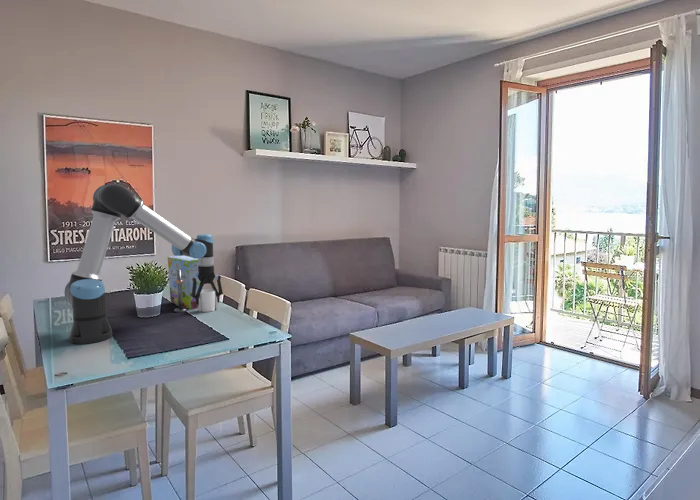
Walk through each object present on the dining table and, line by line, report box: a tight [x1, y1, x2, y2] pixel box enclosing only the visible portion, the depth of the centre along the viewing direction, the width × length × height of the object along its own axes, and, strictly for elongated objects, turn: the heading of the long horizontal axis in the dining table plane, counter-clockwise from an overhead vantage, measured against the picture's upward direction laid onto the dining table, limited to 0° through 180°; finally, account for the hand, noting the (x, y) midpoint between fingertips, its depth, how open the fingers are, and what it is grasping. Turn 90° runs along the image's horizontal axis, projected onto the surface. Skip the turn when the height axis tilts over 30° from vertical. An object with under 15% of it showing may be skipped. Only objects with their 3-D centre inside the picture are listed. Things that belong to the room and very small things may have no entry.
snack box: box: [167, 255, 204, 310], centre depth 238 cm, size 22×9×26 cm, turn 49°
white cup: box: [199, 288, 216, 313], centre depth 228 cm, size 8×8×10 cm
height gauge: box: [174, 270, 188, 313], centre depth 226 cm, size 6×6×21 cm
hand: (208, 309), depth 228 cm, fingers closed on white cup, 8 cm apart
